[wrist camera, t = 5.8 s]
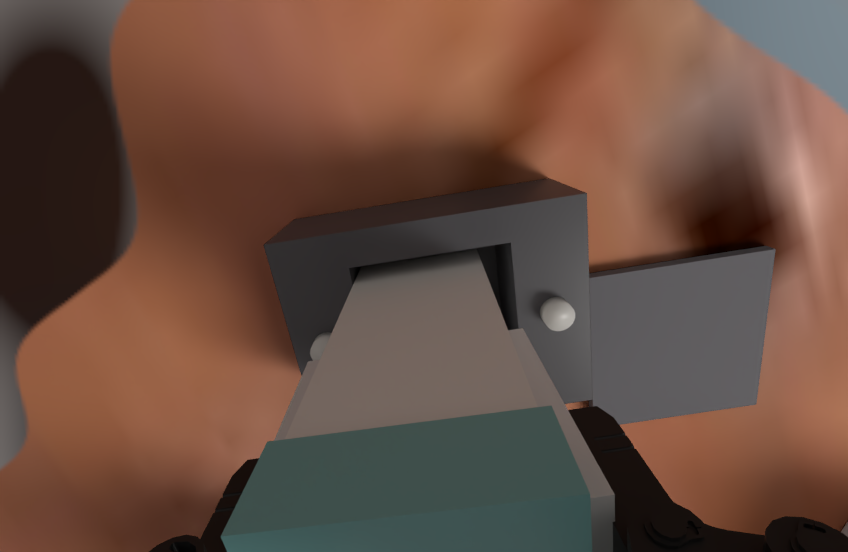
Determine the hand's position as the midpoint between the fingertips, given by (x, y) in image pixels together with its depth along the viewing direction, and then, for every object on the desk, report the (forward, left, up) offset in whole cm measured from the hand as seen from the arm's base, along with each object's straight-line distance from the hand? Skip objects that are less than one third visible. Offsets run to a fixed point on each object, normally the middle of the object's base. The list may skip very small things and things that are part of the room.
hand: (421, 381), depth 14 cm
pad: (+13, -5, -8) cm, 16 cm away
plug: (0, 0, -6) cm, 6 cm away
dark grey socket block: (+1, 0, -8) cm, 8 cm away
